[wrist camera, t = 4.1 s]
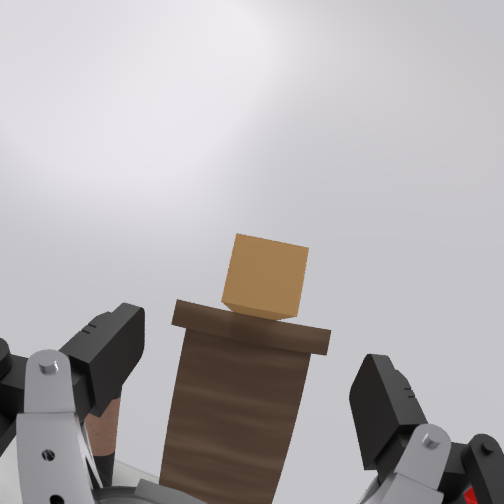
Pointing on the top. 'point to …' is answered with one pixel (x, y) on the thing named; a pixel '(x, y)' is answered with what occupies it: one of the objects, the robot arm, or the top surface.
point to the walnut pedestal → (235, 403)
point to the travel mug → (104, 439)
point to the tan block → (265, 278)
